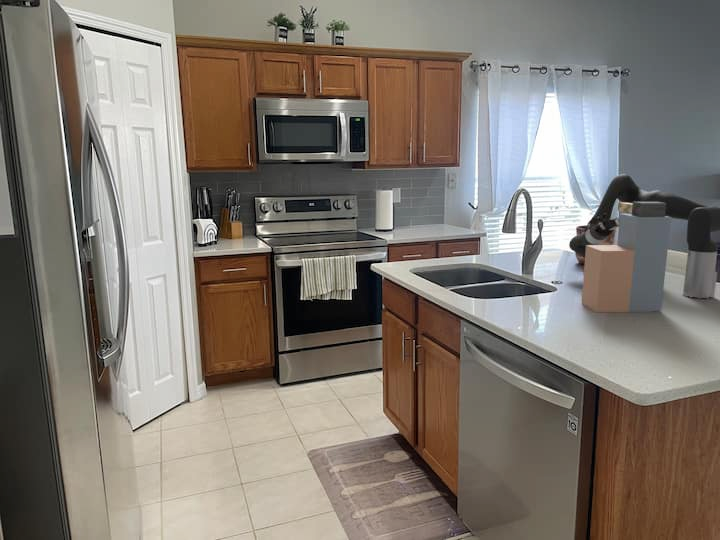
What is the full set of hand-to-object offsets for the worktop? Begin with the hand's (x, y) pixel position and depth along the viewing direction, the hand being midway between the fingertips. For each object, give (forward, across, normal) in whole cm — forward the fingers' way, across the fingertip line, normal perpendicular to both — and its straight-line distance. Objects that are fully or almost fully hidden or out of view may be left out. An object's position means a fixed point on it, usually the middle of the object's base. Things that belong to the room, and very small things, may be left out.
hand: (617, 215), depth 204 cm
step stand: (+1, -6, +36) cm, 36 cm away
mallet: (+13, 0, +5) cm, 14 cm away
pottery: (-64, +18, -3) cm, 67 cm away
